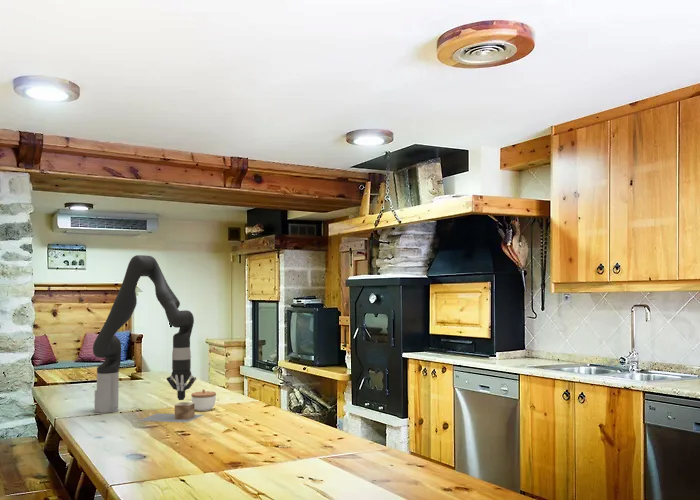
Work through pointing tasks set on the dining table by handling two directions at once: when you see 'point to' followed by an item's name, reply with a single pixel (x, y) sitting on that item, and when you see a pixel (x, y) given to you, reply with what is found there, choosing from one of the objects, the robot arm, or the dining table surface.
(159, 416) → the mat
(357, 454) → the dining table surface
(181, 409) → the walnut cube
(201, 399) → the lidded jar
